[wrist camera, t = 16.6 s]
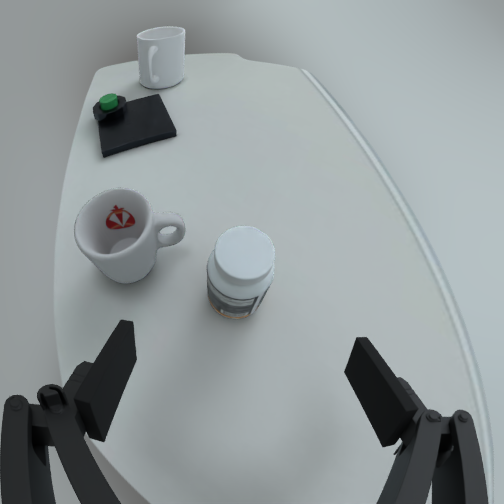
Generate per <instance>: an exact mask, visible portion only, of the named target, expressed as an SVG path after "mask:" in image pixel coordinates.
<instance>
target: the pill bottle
mask: <svg viewBox="0 0 504 504" xmlns="http://www.w3.org/2000/svg"><path fill="white" fill-rule="evenodd" d="M274 261H275V249H274V245H273V243H272V241H271V240H270V238H269V237H268V236H267V235H266V234H265V233H264V232H262V231H261V230H259V229H257V228H254V227H251V226H236V227H233V228H230V229H228V230H226V231H225V232H224V233H222V234H221V236H220V237H219V238H218V240H217V242H216V245H215V249H214V250H213V251H212V253H211V255H210V257H209V259H208V263H207V288H208V297H209V301H210V303H211V305H212V307H213V308H214V309H215V310H216V311H217V312H218V313H219V314H220V315H222V316H224V317H227V318H231V319H241V318H244V317H247V316H249V315H251V314H252V313H253V312H254V311H255V310H256V309H257V308H258V307H259V305H260V304H261V302H262V300H263V298H264V296H265V294H266V292H267V290H268V288H269V287H270V285H271V283H272V280H273V277H274Z"/></svg>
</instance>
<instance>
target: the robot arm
mask: <svg viewBox="0 0 504 504" xmlns="http://www.w3.org/2000/svg"><path fill="white" fill-rule="evenodd" d="M136 360H137V357H136V347H135V337H134V325H133V321H126V320H120V322H119V323H118V325H117V326H116V328H115V330H114V331H113V333H112V334H111V336H110V337H109V339H108V341H107V342H106V344H105V345H104V347H103V349H102V350H101V352H100V353H99V355H98V357H97V358H96V360H95V362H94V363H90V362H86V361H84V362H82V363H81V364H79V365H78V366H77V367H76V368H75V370H74V371H73V374H72V375H71V376H70V378H69V379H68V381H67V382H66V384H65V386H64V387H63V389H62V388H61V387H60V386H58V385H54V384H50V385H45V386H43V387H42V388H40V389H39V391H38V393H37V398H38V401H39V403H40V405H35V404H29V403H28V401H27V399H26V398H25V397H23V396H21V395H13V396H11V397H9V398H8V399H7V400H6V402H5V404H4V412H3V421H2V432H1V448H0V449H1V450H0V479H1V480H0V481H1V496H2V497H1V498H2V504H56V502H55V497H54V492H53V486H52V479H51V471H50V463H49V454H48V453H49V452H48V446H55V448H56V450H57V453H58V455H59V458H60V460H61V463H62V465H63V467H64V470H65V472H66V474H67V477H68V479H69V481H70V483H71V485H72V487H73V489H74V491H75V493H76V495H77V497H78V499H79V501H80V503H81V504H121V503H120V501H119V500H118V498H117V497H116V495H115V494H114V492H113V490H112V489H111V487H110V486H109V484H108V482H107V481H106V479H105V477H104V476H103V474H102V472H101V470H100V469H99V467H98V465H97V463H96V461H95V459H94V457H93V456H92V454H91V452H90V450H89V448H88V446H87V444H86V442H85V440H84V435H85V433H86V432H87V434H88V436H89V438H91V439H95V440H98V441H102V442H104V441H105V439H106V436H107V433H108V430H109V428H110V425H111V422H112V420H113V417H114V415H115V412H116V409H117V407H118V404H119V402H120V399H121V397H122V394H123V392H124V389H125V387H126V384H127V382H128V379H129V377H130V375H131V372H132V370H133V367H134V365H135V363H136ZM344 373H345V375H346V376H347V378H348V380H349V382H350V384H351V386H352V388H353V390H354V392H355V394H356V396H357V398H358V399H359V401H360V403H361V405H362V407H363V409H364V411H365V413H366V415H367V417H368V419H369V421H370V423H371V425H372V427H373V429H374V431H375V433H376V435H377V437H378V439H379V441H380V443H381V445H382V447H386V446H391V445H394V444H395V443H396V442H397V441H398V439H399V438H401V440H402V443H401V445H400V446H399V447H398V449H397V450H396V451H395V453H394V455H395V454H396V453H397V452H398V453H397V455H396V458H395V461H394V464H393V466H392V469H391V471H390V474H389V476H388V479H387V481H386V484H385V486H384V488H383V491H382V493H381V495H380V497H379V499H378V502H377V504H425V503H426V500H427V497H428V493H429V489H430V486H431V482H432V504H488V496H487V487H486V480H485V474H484V468H483V462H482V457H481V452H480V448H479V443H478V439H477V435H476V430H475V427H474V423H473V419H472V417H471V415H470V414H469V413H468V412H466V411H464V410H457V411H455V413H454V414H453V416H452V417H442V416H441V414H439V413H438V412H437V411H435V410H430V409H429V410H427V408H426V407H425V406H424V404H423V403H422V401H421V400H420V399H419V397H418V396H417V395H416V394H415V392H414V390H413V389H412V388H411V386H410V385H409V384H408V382H406V381H405V380H404V379H402V378H401V377H399V378H397V377H396V376H395V374H394V373H393V372H392V370H391V369H390V368H389V366H388V365H387V363H386V362H385V361H384V359H383V358H382V357H381V355H380V354H379V353H378V351H377V350H376V349H375V347H374V346H373V345H372V343H371V342H370V341H369V339H368V338H367V337H356V340H355V343H354V346H353V349H352V352H351V355H350V358H349V360H348V363H347V366H346V368H345V371H344Z"/></svg>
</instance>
